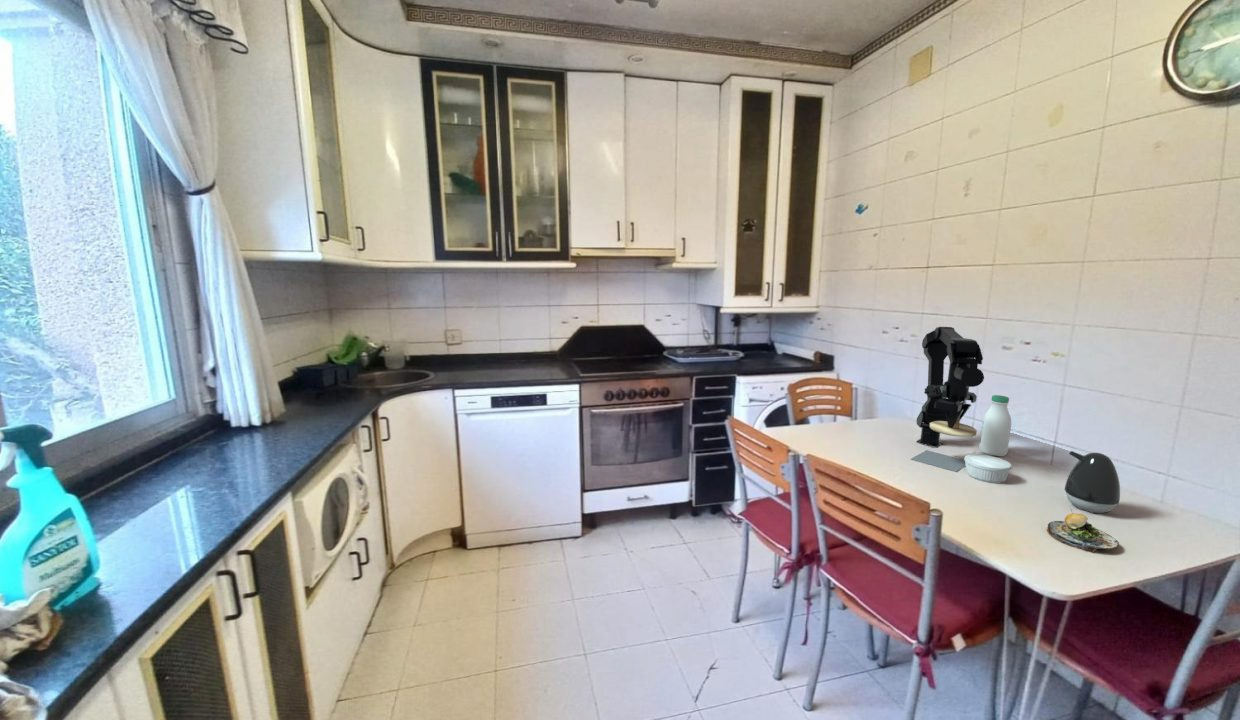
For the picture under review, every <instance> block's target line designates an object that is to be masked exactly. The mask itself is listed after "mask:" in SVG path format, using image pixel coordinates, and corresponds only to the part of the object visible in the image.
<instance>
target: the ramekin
mask: <svg viewBox="0 0 1240 720" xmlns="http://www.w3.org/2000/svg"><path fill="white" fill-rule="evenodd" d="M963 460H965V465H966V466H965V472H966V474H967V475H968V476H969V477H970V478H972V479H974V480H977V481H980V482H985V483H989V484H990V483H991V484H1002V483H1004V482H1006V480H1007V479H1008V476H1009V473H1010V470H1012V464H1011V463H1010V462H1009V461H1007V460H1004V459H1002V458H999V457H996V456H993V455H988V454H978V453H977V454H976V453H975V454H974V453H973V454H968V455H965V456H964V458H963Z"/></svg>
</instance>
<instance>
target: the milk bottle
mask: <svg viewBox="0 0 1240 720" xmlns="http://www.w3.org/2000/svg"><path fill="white" fill-rule="evenodd" d="M990 402H991V404H990V407H989V408H988V410H987V411H986V412H985V414H984V415H983V418H982V425H981V431H980V437H979V445H978V446H979V447H978V450H979V451H980V452H981V453H983V454H985V455H989V456H994V457H996V456H997V457H998V456H999V457H1005V456H1007V454H1008V451H1009V444H1010V437H1011V430H1012V429H1011V428H1012V419H1011V418H1012V417H1011V414H1010V412H1009V410H1008V409H1009V408H1008V404H1009V402H1010V397H1009V396H1004V395H998V394H995V395H992V396H991V401H990Z"/></svg>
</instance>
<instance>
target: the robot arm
mask: <svg viewBox="0 0 1240 720" xmlns="http://www.w3.org/2000/svg"><path fill="white" fill-rule="evenodd" d="M921 347H922V349H923V354H924V356H925V357H926V359H927V360H928V367H927V369H928V371H927V372H928V373H927V374H928V375H927V386H926V387H925V388H924V394H925V395H926V397H927V398H926V399H927V400H926V401H925V402H924V404H923V405H922V406H921V410H920V411H919V414H918V415H917V417H916V425H917V426H918V427H919V428H921V431H920V433H921V434H920V438H918V439H917V440H916V443H918V444H922V445H926V446H930V447H934V448H937V447H939V446H940V445H943V444H944V443H943V441H940V437H941V433H939V432H936V431H934V430H932V429H931V428H930V423H931V422H934V421H947V422H948V427H950V428H953V427H954V425H955V423H956V422H957V420H958V418H959V417H960V421H961V420H962V418H963V417H964V416H965V414H967V412H968V410H969V409H970V407H972V404H974V403H976V401H977V397H978V396H977V394H976V393H974V392H971V391H970V388H971V387H972V388H974V387H977V386H980V385H981V384H983V382H984V380H985V376H984V373H983V371H982V370H981V369H979V368H978V366H979V365H982V364H983V359H984V358H983V353H982V349H981V347H980V344H978V342H977V340H975V339H972V338H964V337H963V336H962V335H961V334H959V333H958V332H957V331H956V330H955V327H952V326H938V327H936V328H935V329H934V330H932V331H930V332H928V333H926V334H925V336H924V337H923V339H922V342H921ZM947 357H948V360H949V367H948V368H949V369H948V373H947V374H948V376H947V380H946V381H945V382H944V373H945V372H944V371H945V370H944V369H945V365H944V364H945V360H946V358H947ZM967 401H970V402H971V403H972V404H969V403H967Z"/></svg>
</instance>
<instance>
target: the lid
mask: <svg viewBox="0 0 1240 720" xmlns="http://www.w3.org/2000/svg"><path fill="white" fill-rule="evenodd" d="M930 428H931V429H932V430H934V431H936V432H939V433H940V434H943V435H946V436H947V435H948V436H952V437H959V438H960V437H961V438H972V437H975V436H977V433H978V430H977V428H975V427H973V426H971V425H969V424H964V423H961V420H960V417H959V418H958V420H957V422H956V423H955V425H954V427H953V428H950V427H948V422H947V421H934V422H931V423H930Z"/></svg>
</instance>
